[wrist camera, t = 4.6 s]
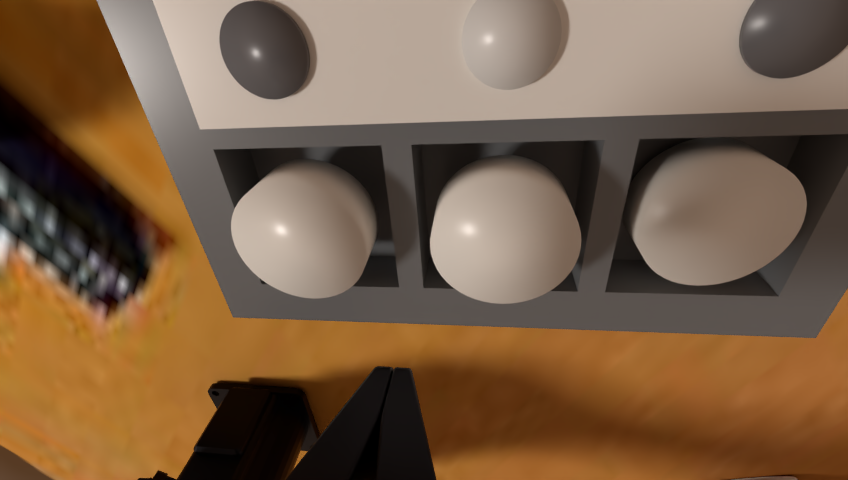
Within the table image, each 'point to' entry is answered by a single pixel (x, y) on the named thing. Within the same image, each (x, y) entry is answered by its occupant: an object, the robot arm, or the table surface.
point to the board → (502, 137)
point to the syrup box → (771, 478)
